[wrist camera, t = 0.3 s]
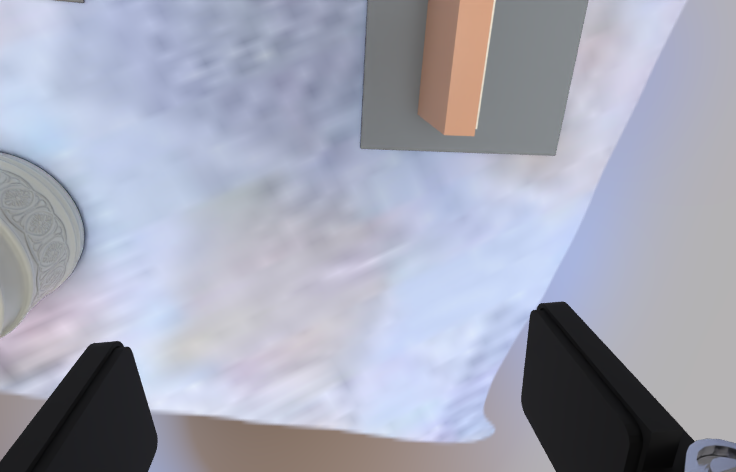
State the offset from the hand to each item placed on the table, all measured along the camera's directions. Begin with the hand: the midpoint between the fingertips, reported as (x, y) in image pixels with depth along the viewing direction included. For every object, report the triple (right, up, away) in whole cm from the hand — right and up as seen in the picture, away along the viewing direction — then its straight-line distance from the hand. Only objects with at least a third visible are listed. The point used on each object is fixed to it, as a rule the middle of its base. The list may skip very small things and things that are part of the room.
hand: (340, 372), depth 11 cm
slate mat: (+9, +18, +26) cm, 33 cm away
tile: (+6, +17, +25) cm, 31 cm away
